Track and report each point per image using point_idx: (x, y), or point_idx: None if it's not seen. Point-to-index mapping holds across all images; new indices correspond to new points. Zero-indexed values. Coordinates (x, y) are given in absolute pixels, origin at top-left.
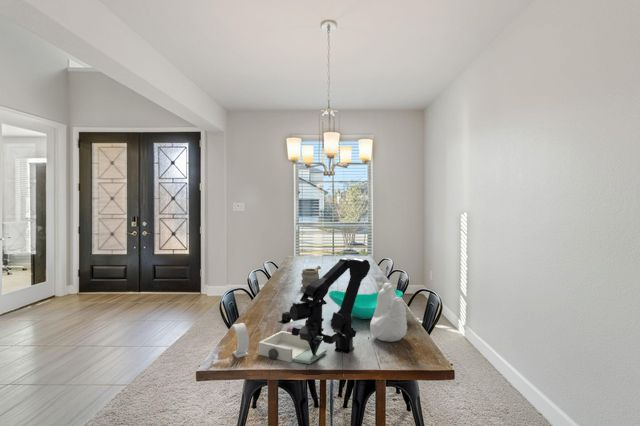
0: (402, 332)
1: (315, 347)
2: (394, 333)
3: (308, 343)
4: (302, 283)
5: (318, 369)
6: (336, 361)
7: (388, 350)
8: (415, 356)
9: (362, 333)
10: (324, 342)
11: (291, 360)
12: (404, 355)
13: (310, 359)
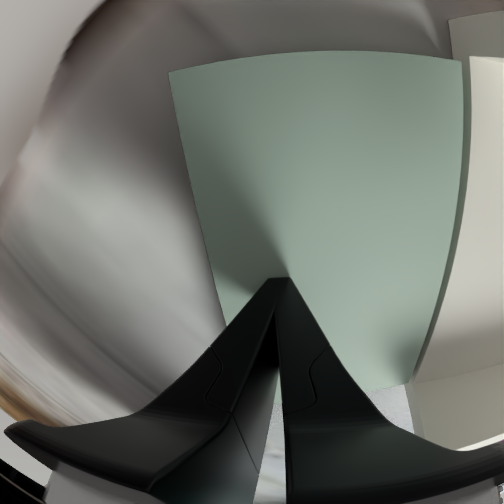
0: (44, 486)
1: (203, 359)
2: None
3: (438, 404)
4: (500, 499)
5: (59, 80)
6: (90, 306)
7: None
8: (24, 415)
9: (261, 496)
10: None
11: (459, 34)
12: (38, 418)
13: (206, 132)
